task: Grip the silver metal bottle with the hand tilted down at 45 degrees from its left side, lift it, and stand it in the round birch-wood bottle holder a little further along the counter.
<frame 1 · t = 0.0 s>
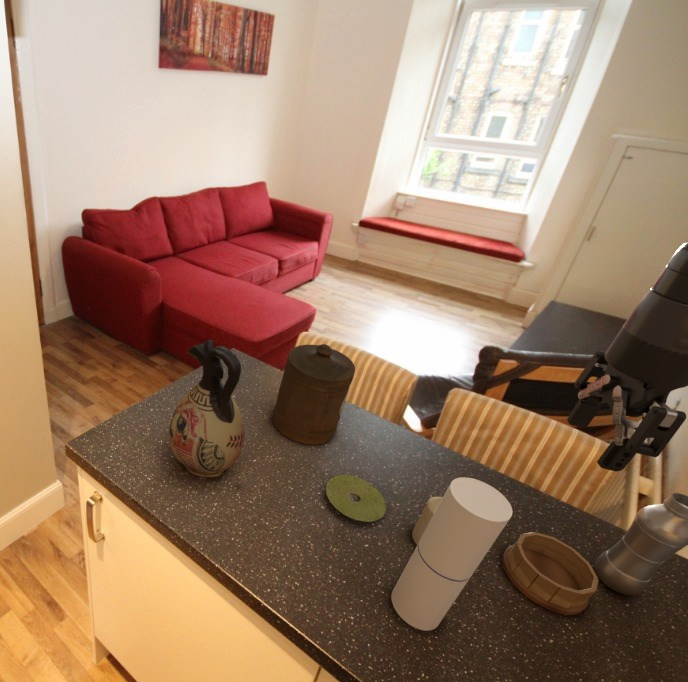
hand: (590, 444, 58), 32 cm above the breakfast bar, tool pointing down, fingers open, 8 cm apart
ceramic jug: (204, 465, 94), on the breakfast bar
silver metal bottle: (611, 582, 77), on the breakfast bar
candle: (427, 541, 81), on the breakfast bar
bottle holder: (542, 579, 76), on the breakfast bar
mat: (352, 504, 88), on the breakfast bar
cylindrical container: (414, 607, 71), on the breakfast bar
wooden container: (303, 424, 108), on the breakfast bar
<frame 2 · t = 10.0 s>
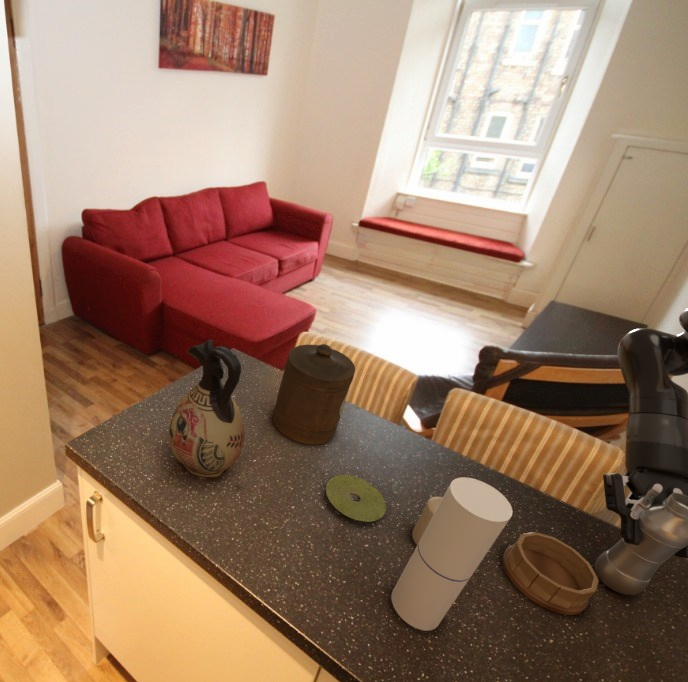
hand: (657, 550, 70), 11 cm above the breakfast bar, tool tilted 45°, fingers closed on silver metal bottle, 6 cm apart
silver metal bottle: (612, 582, 77), on the breakfast bar, touching gripper
everything else where it was.
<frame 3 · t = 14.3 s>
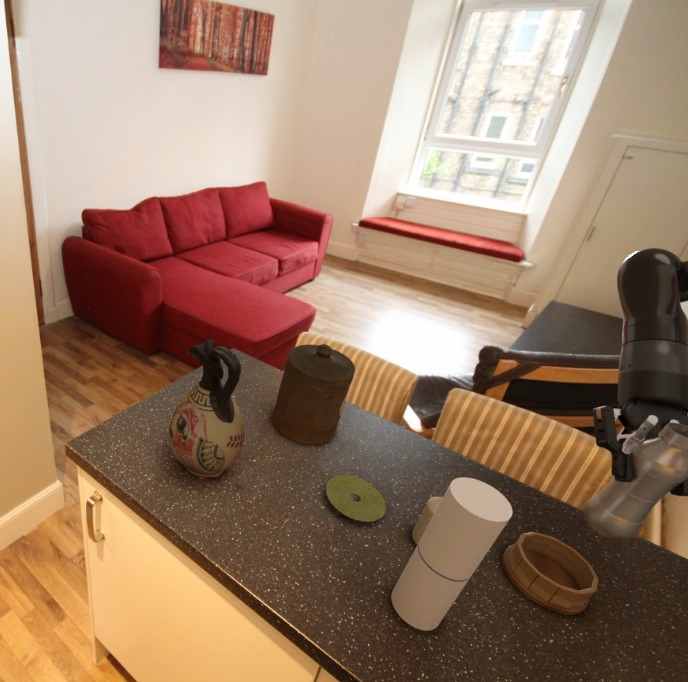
hand: (651, 488, 63), 24 cm above the breakfast bar, tool tilted 45°, fingers closed on silver metal bottle, 6 cm apart
silver metal bottle: (601, 528, 70), point 13 cm above the breakfast bar, touching gripper
everything else where it was.
when the fingers open (12 cm above the breakfast bar, at t = 18.5 s): silver metal bottle stays where it is, resting on bottle holder.
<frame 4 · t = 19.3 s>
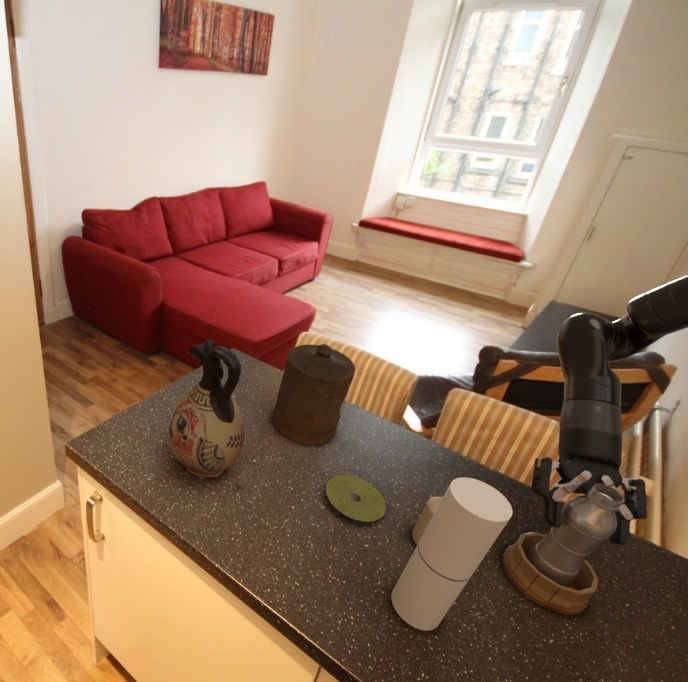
hand: (585, 535, 69), 13 cm above the breakfast bar, tool tilted 45°, fingers open, 8 cm apart
silver metal bottle: (543, 574, 76), point 1 cm above the breakfast bar, touching bottle holder
everything else where it was.
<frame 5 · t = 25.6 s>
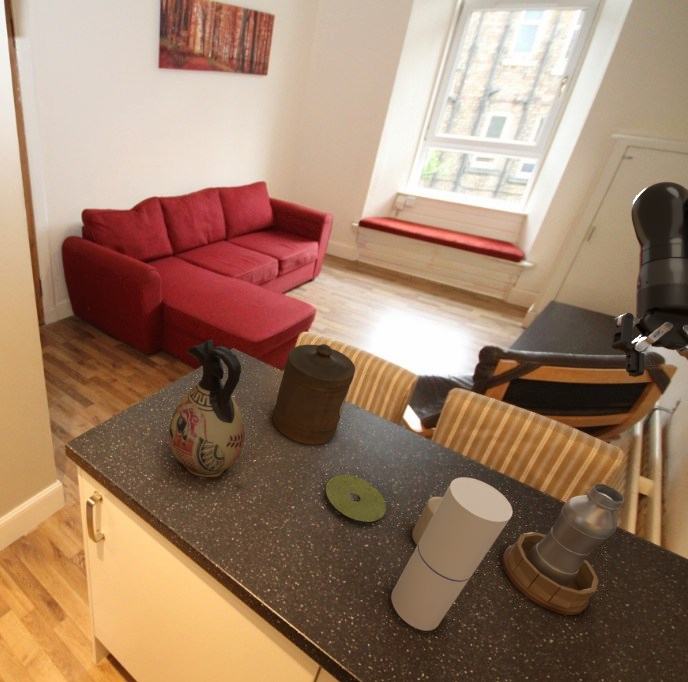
hand: (667, 381, 72), 33 cm above the breakfast bar, tool tilted 45°, fingers open, 8 cm apart
nothing on the breakfast bar moved.
at the end: silver metal bottle 0.2 cm off-centre on the bottle holder, point 0.8 cm above the bottle holder's base; silver metal bottle tilted 0°; the gripper is holding nothing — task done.
